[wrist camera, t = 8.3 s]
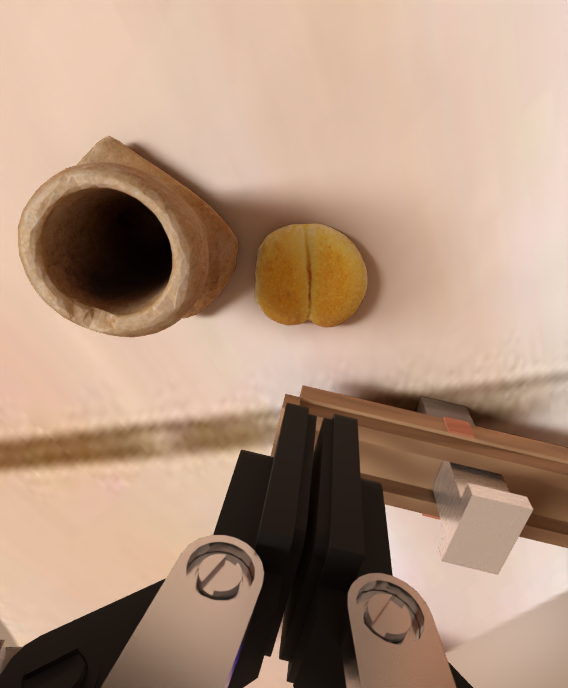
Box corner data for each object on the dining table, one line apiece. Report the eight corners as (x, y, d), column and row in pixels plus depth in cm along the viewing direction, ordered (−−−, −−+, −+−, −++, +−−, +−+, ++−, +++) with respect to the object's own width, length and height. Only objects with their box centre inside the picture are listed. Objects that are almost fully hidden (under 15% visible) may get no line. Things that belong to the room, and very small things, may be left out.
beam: (293, 358, 42) (283, 405, 35) (601, 431, 42) (656, 493, 35) (276, 428, 45) (264, 484, 38) (564, 496, 45) (607, 566, 38)
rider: (452, 439, 37) (472, 495, 31) (504, 452, 37) (533, 509, 31) (427, 499, 39) (441, 560, 34) (475, 511, 39) (497, 574, 34)
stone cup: (275, 220, 38) (237, 267, 24) (193, 328, 42) (123, 419, 29) (112, 89, 36) (-33, 59, 22) (44, 218, 40) (-112, 261, 26)
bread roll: (362, 323, 41) (364, 342, 37) (257, 316, 42) (248, 333, 38) (372, 223, 37) (375, 233, 34) (257, 218, 38) (248, 226, 35)
